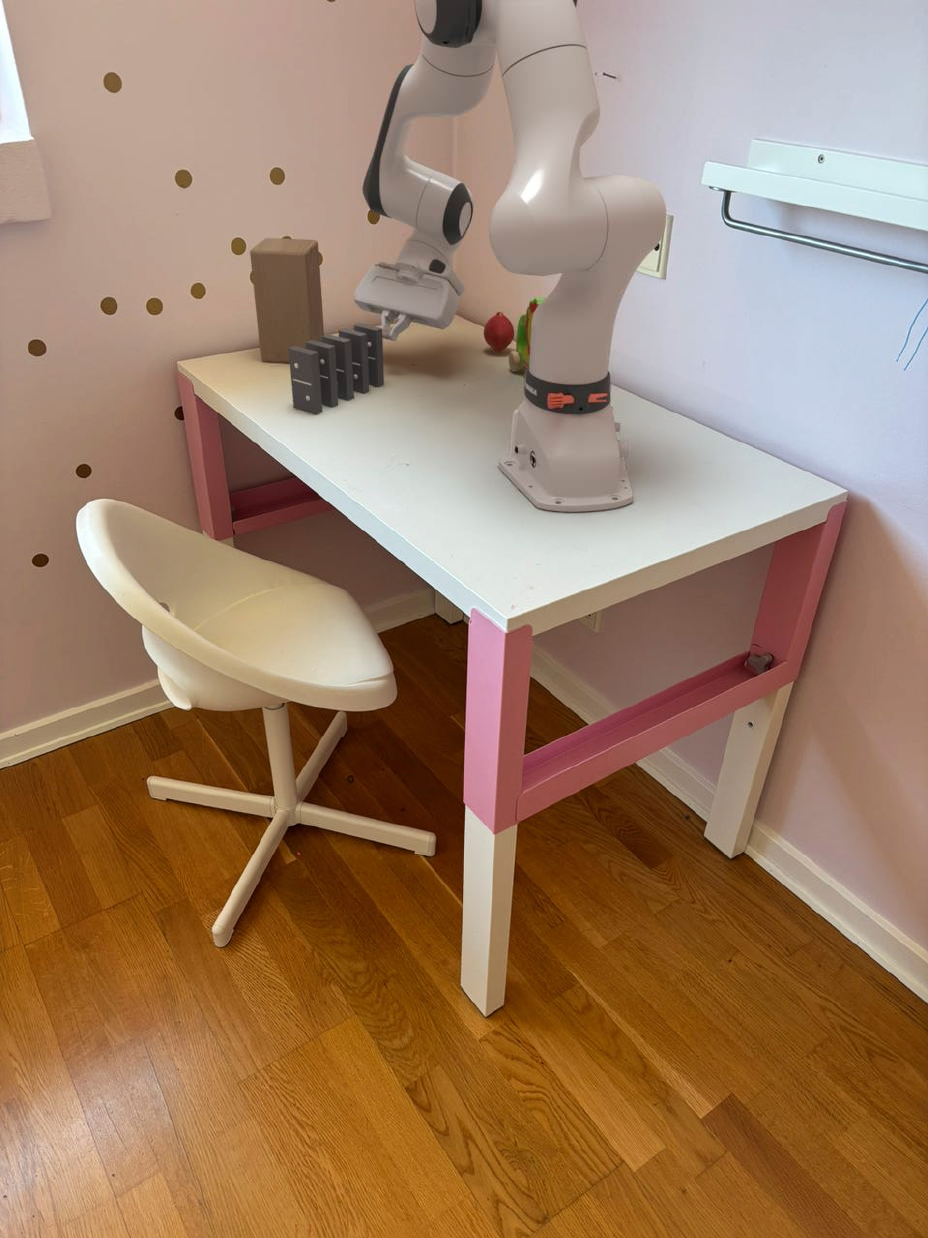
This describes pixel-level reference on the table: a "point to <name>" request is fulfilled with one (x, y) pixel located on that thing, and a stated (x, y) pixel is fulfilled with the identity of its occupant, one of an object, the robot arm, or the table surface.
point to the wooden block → (286, 295)
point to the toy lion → (523, 339)
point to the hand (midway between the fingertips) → (386, 337)
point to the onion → (499, 332)
